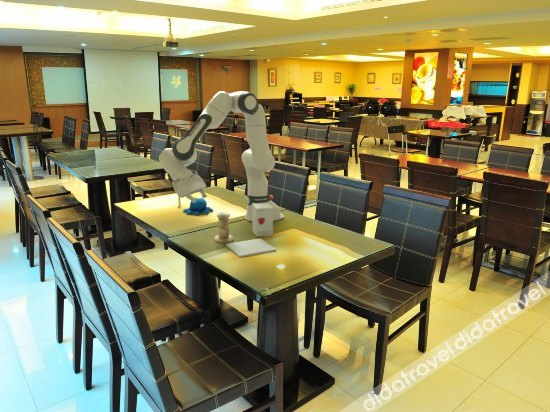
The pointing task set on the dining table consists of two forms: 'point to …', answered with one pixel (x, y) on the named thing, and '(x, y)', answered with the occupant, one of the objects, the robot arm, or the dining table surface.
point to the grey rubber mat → (250, 247)
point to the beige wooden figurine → (223, 228)
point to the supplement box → (262, 220)
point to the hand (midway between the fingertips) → (200, 199)
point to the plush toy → (198, 208)
